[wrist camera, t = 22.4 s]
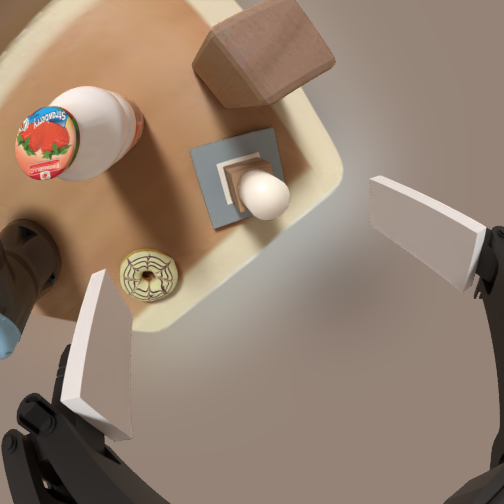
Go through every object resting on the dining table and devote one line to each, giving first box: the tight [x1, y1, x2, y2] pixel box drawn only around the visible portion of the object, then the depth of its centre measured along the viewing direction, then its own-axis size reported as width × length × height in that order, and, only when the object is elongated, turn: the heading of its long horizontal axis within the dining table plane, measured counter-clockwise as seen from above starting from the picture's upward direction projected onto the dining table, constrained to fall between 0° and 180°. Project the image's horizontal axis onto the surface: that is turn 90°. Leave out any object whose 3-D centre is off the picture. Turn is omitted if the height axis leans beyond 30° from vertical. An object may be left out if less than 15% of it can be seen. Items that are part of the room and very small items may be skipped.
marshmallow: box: [236, 169, 290, 220], centre depth 37 cm, size 6×6×6 cm
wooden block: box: [192, 0, 336, 109], centre depth 29 cm, size 10×10×20 cm
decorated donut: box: [120, 248, 178, 302], centre depth 48 cm, size 10×11×4 cm
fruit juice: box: [15, 86, 144, 182], centre depth 24 cm, size 9×9×28 cm
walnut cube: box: [223, 157, 273, 212], centre depth 42 cm, size 6×6×6 cm
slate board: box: [189, 127, 285, 229], centre depth 46 cm, size 14×14×2 cm
